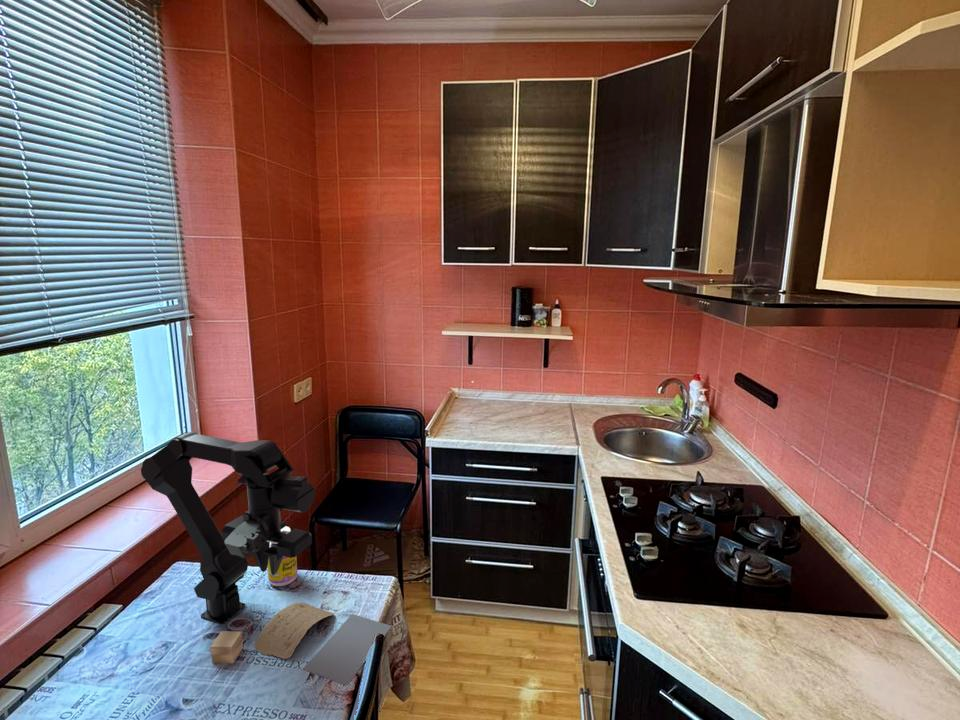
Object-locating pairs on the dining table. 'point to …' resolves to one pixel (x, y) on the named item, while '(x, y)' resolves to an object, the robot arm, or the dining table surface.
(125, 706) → the dining table surface
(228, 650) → the oak block
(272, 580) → the supplement bottle
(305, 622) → the clay tablet
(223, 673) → the dining table surface
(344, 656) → the slate mat
